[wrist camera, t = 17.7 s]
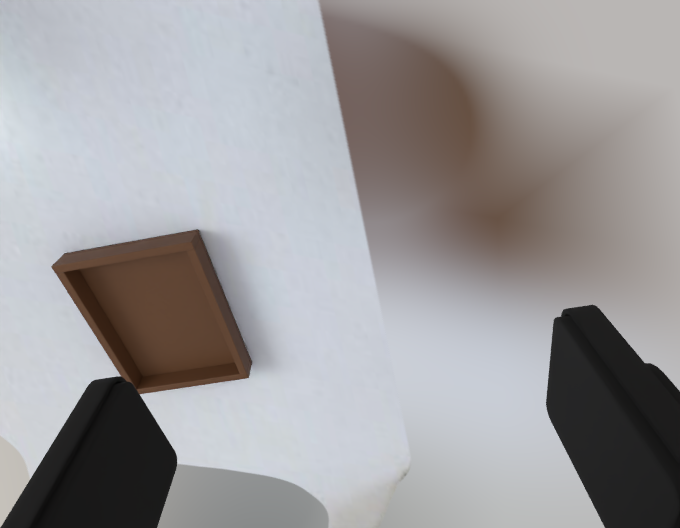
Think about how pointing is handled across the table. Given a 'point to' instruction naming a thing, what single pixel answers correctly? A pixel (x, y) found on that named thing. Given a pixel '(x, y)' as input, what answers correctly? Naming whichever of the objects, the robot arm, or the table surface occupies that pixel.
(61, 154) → the table surface
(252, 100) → the table surface
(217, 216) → the table surface
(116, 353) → the tray
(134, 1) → the table surface
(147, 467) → the robot arm
